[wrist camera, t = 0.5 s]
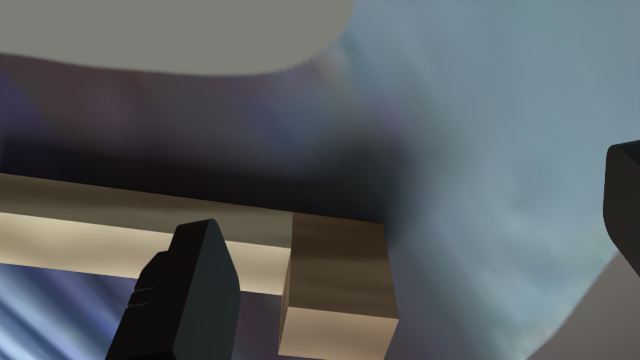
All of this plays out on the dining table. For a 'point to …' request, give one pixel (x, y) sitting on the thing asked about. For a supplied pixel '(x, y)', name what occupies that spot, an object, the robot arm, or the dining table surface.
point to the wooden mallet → (243, 245)
